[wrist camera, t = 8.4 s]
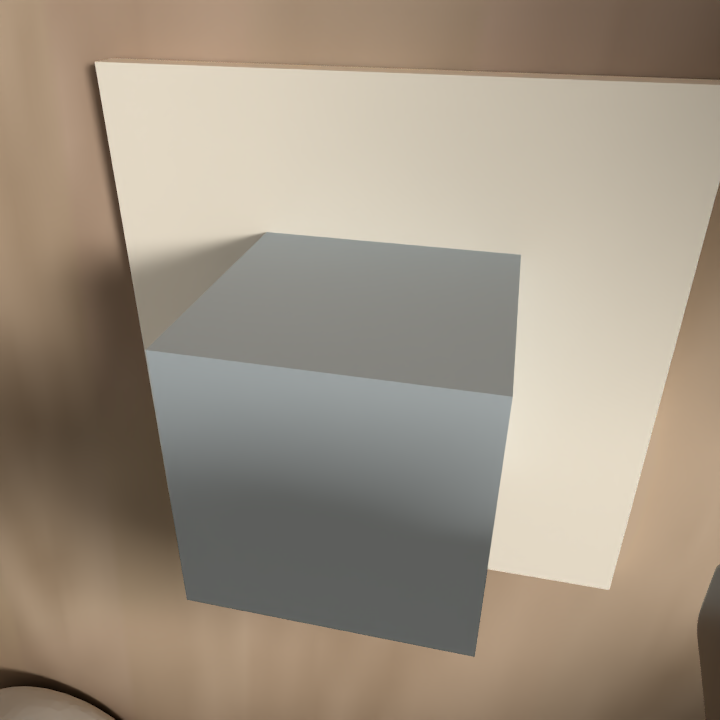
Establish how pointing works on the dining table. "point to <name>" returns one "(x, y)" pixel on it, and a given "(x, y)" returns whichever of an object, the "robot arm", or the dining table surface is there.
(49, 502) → the dining table surface
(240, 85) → the coaster
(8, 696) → the cup
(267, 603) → the slate block
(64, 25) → the dining table surface
